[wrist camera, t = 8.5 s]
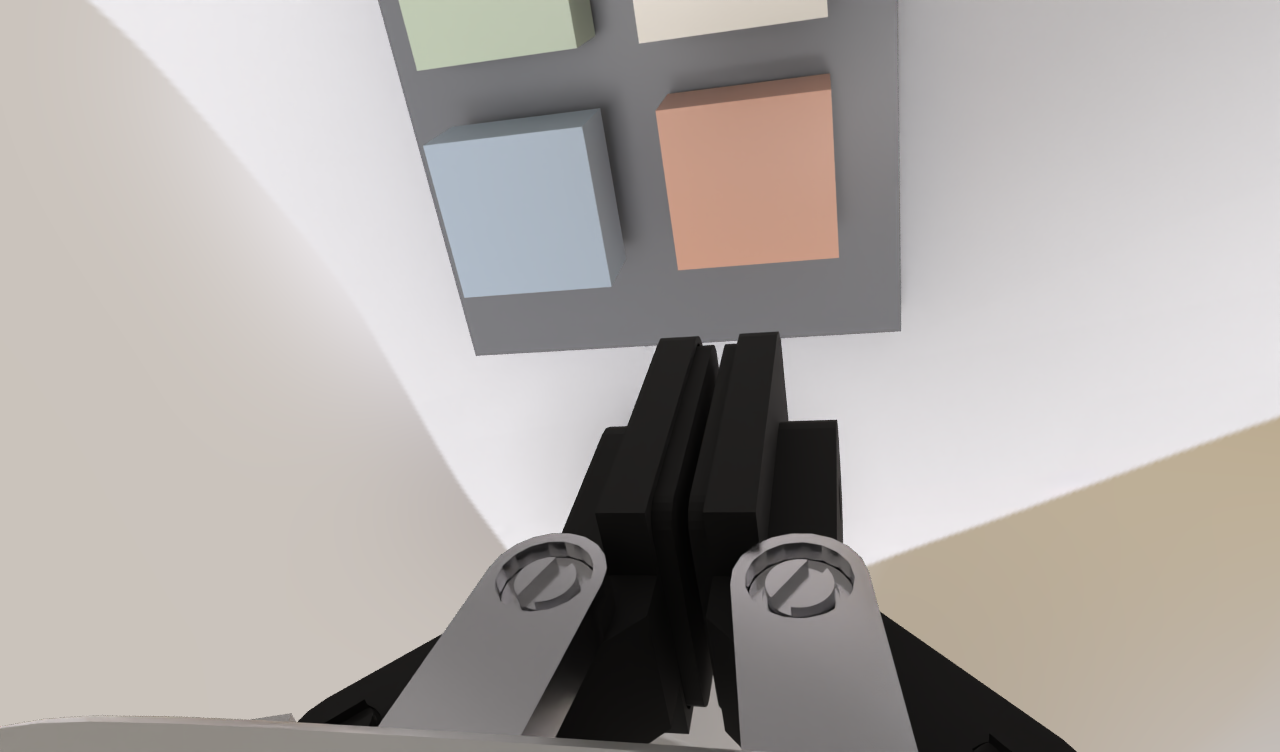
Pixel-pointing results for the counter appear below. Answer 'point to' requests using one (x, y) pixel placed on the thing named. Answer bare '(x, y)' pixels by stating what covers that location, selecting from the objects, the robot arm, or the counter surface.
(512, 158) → the key blue
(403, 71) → the keypad board
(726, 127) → the key terracotta
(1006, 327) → the counter surface
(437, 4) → the key sage
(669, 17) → the key cream
